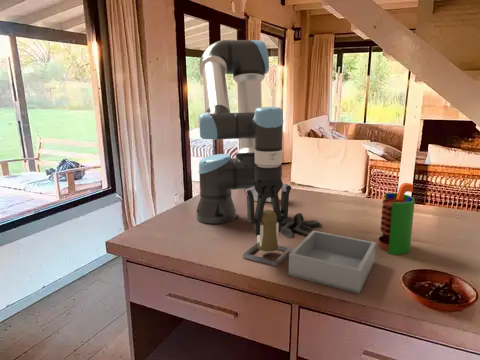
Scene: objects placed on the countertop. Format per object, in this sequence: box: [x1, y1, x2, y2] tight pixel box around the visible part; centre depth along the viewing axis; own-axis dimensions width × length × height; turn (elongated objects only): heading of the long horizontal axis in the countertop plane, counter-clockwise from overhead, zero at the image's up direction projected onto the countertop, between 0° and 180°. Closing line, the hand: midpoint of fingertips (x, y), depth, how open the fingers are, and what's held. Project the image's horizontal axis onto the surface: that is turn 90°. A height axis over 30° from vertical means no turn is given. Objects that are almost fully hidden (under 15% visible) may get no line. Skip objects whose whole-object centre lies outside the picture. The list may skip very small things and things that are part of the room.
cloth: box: [281, 212, 323, 240], centre depth 124 cm, size 22×19×6 cm
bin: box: [288, 230, 377, 295], centre depth 97 cm, size 18×18×6 cm
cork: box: [257, 209, 279, 252], centre depth 104 cm, size 6×6×11 cm
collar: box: [242, 242, 293, 267], centre depth 106 cm, size 11×11×1 cm
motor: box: [377, 182, 416, 256], centre depth 108 cm, size 10×9×20 cm
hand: (267, 243), depth 106 cm, fingers closed on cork, 4 cm apart
